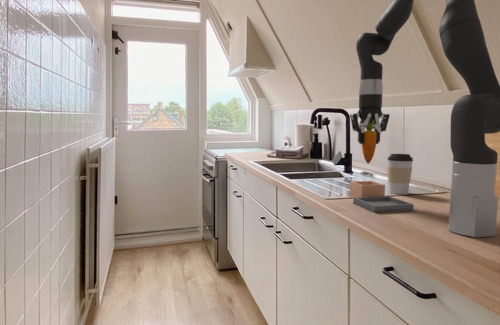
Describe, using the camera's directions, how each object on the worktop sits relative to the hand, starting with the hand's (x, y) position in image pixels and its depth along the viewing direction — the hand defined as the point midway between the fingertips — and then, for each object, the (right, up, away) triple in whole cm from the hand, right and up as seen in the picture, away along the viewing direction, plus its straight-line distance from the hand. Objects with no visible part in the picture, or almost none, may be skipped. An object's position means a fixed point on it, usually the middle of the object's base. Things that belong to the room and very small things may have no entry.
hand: (368, 143), depth 132 cm
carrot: (0, -7, +1) cm, 7 cm away
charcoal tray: (+1, -21, -11) cm, 23 cm away
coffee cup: (+16, -18, +14) cm, 28 cm away
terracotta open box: (0, -19, +2) cm, 19 cm away
